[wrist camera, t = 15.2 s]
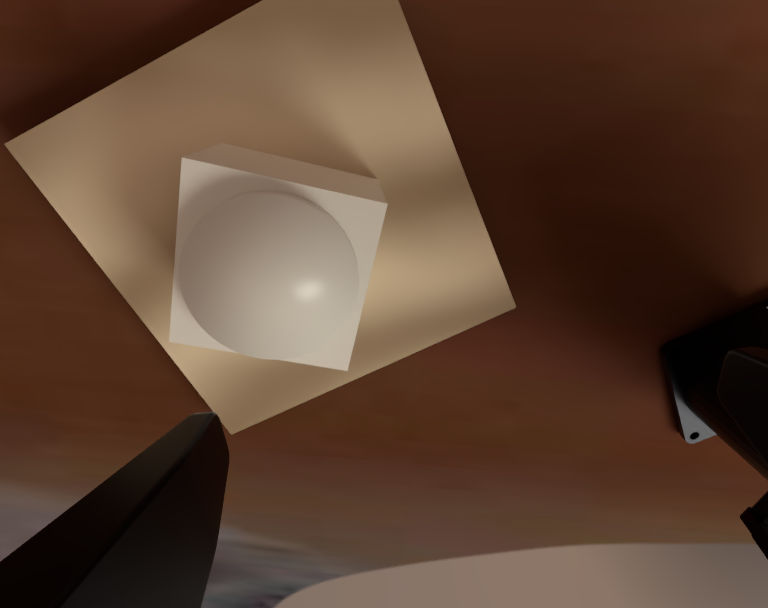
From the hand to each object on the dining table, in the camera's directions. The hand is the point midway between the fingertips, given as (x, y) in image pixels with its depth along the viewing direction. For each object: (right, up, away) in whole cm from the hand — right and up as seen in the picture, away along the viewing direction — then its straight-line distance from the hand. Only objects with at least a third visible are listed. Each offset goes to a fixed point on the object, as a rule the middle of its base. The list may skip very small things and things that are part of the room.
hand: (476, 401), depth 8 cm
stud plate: (-5, +5, +11) cm, 13 cm away
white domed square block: (-5, +4, +10) cm, 12 cm away
